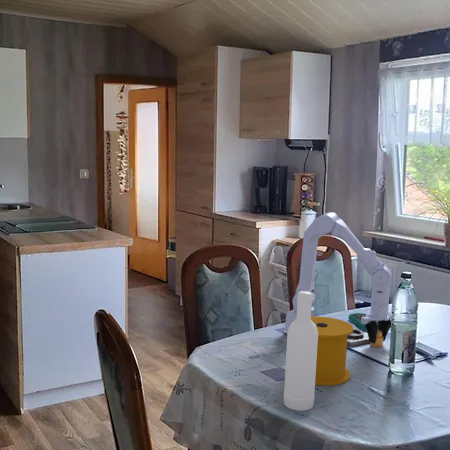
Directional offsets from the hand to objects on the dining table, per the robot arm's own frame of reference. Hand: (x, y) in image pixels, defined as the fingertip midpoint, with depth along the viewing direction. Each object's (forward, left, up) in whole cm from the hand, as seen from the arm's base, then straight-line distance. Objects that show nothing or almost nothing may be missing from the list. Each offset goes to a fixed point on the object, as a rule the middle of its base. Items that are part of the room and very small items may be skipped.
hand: (376, 341), depth 211 cm
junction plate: (-3, +9, -1) cm, 10 cm away
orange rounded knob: (0, 0, -1) cm, 1 cm away
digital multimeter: (+13, +19, -2) cm, 23 cm away
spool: (-34, -10, -2) cm, 35 cm away
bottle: (-53, -24, -2) cm, 58 cm away
